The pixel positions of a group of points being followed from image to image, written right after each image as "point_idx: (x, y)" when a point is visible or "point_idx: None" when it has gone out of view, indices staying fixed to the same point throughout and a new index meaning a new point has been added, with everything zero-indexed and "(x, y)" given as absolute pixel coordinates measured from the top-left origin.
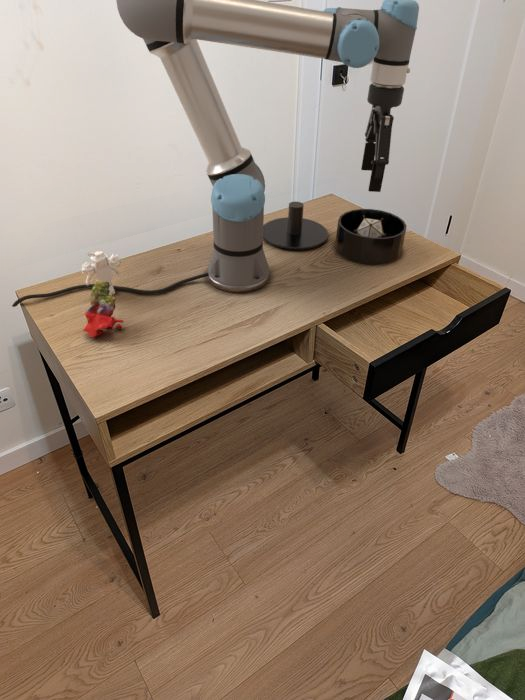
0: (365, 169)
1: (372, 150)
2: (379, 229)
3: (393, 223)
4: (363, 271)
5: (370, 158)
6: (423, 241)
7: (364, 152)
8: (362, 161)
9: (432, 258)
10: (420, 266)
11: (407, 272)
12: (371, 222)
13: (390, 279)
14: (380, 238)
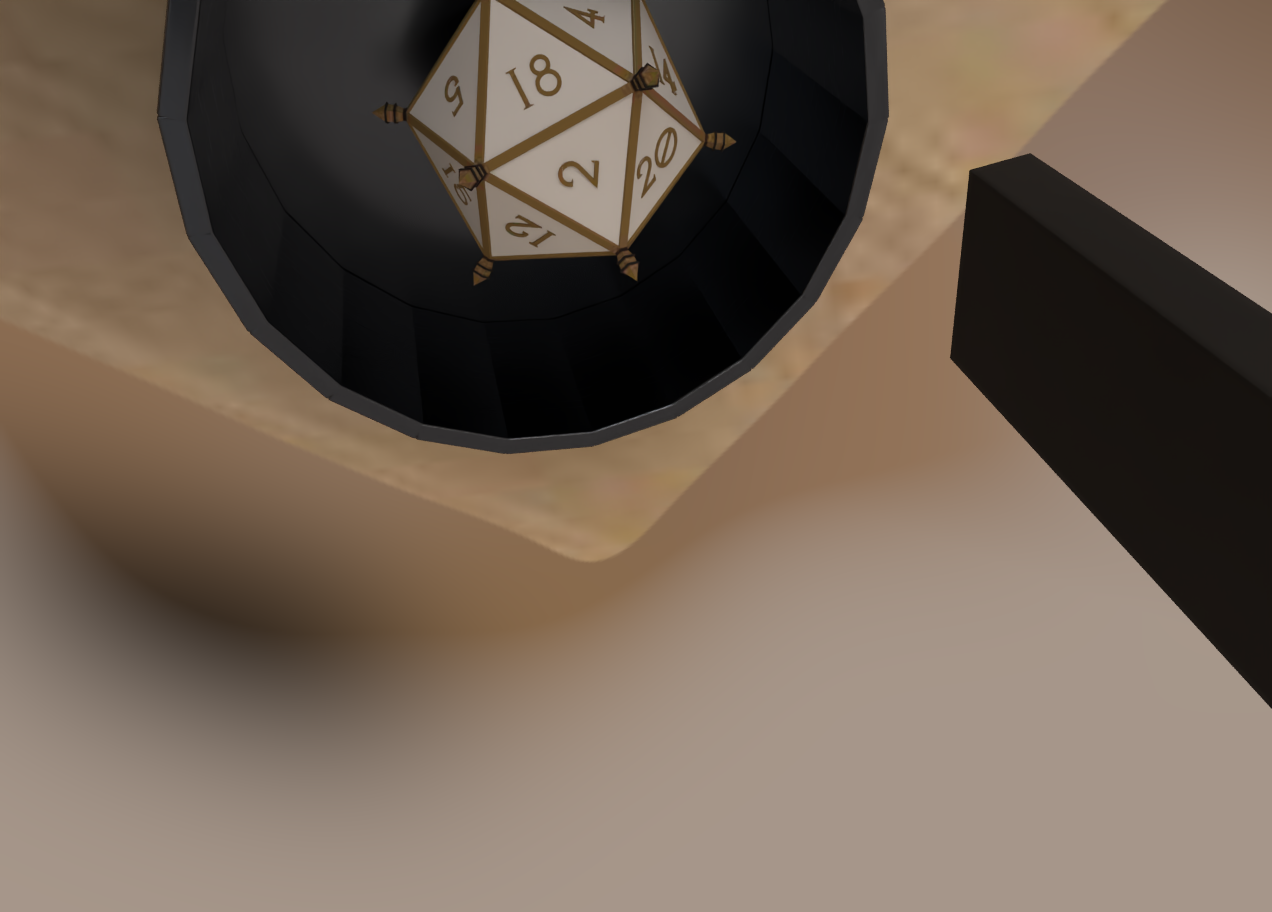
0: (968, 252)
1: (1245, 600)
2: (514, 238)
3: (732, 310)
4: (76, 93)
5: (1108, 443)
6: (728, 425)
7: (1267, 393)
8: (1138, 228)
9: (520, 493)
10: (387, 452)
11: (262, 397)
12: (546, 171)
13: (83, 312)
14: (231, 297)
